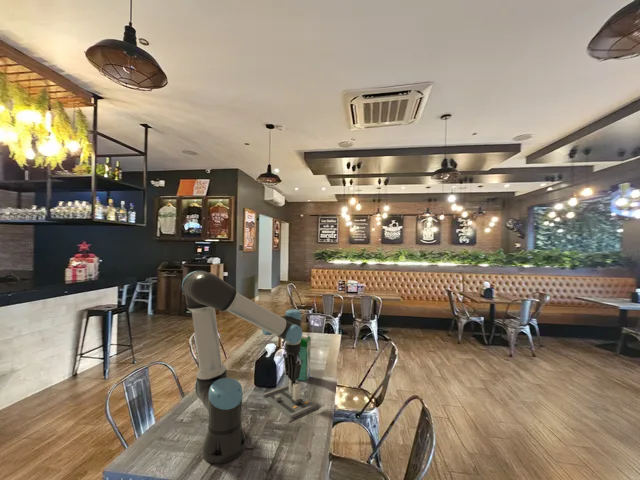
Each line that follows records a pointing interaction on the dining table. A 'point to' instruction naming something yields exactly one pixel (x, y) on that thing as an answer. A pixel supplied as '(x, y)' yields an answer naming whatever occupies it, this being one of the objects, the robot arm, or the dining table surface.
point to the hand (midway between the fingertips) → (291, 392)
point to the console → (289, 403)
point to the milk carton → (305, 357)
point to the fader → (296, 393)
